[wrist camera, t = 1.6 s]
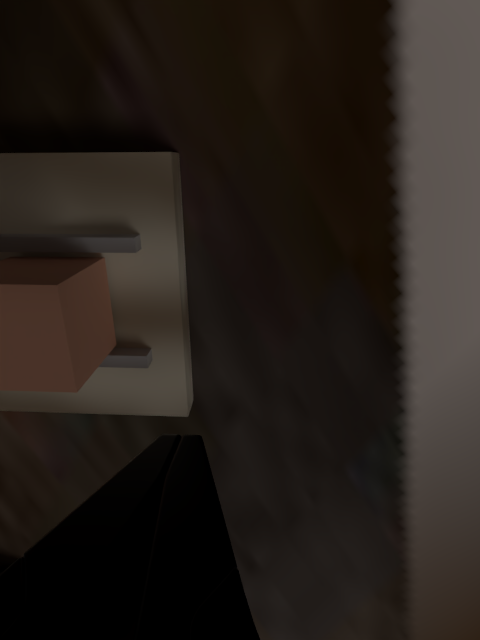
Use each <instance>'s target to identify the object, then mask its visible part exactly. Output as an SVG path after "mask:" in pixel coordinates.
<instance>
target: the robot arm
mask: <svg viewBox="0 0 480 640" xmlns="http://www.w3.org/2000/svg"><path fill="white" fill-rule="evenodd" d="M0 640H260V638H259V635H258V633H257V630H256V627H255V625H254V622H253V618H252V615H251V612H250V609H249V605H248V602H247V599H246V596H245V593H244V589H243V585H242V582H241V578H240V574H239V571H238V569H237V564H236V560H235V557H234V553H233V549H232V546H231V542H230V538H229V535H228V531H227V527H226V523H225V520H224V516H223V512H222V509H221V505H220V501H219V498H218V494H217V490H216V487H215V483H214V479H213V476H212V472H211V468H210V465H209V461H208V457H207V453H206V450H205V446H204V442H203V439H202V437H201V436H200V435H183V436H182V437H181V436H180V435H179V434H162V435H160V436H159V437H158V438H157V439H155V440H154V441H153V442H152V443H151V444H150V445H148V446H147V447H146V448H145V449H144V450H143V451H142V452H140V453H139V454H138V455H137V456H136V457H135V458H133V459H132V460H131V461H130V462H129V463H128V464H127V465H125V466H124V467H123V468H122V469H121V470H120V471H119V472H117V473H116V474H115V475H114V476H113V477H112V478H110V479H109V480H108V481H107V482H106V483H105V484H104V485H102V486H101V487H100V488H99V489H98V490H97V491H95V492H94V493H93V494H92V495H91V496H90V497H89V498H87V499H86V500H85V501H84V502H83V503H82V504H80V505H79V506H78V507H77V508H76V509H75V510H74V511H72V512H71V513H70V514H69V515H68V516H67V517H65V518H64V519H63V520H62V521H61V522H60V523H59V524H57V525H56V526H55V527H54V528H53V529H52V530H51V531H49V532H48V533H47V534H46V535H45V536H44V537H42V538H41V539H40V540H39V541H38V542H37V543H36V544H34V545H33V546H32V547H31V548H30V549H29V550H27V551H26V552H25V553H24V558H23V557H19V558H18V559H17V560H16V561H15V562H13V563H12V564H11V565H10V566H9V567H8V568H6V569H0Z"/></svg>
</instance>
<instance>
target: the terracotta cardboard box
mask: <svg viewBox="0 0 480 640" xmlns="http://www.w3.org/2000/svg"><path fill="white" fill-rule="evenodd" d="M116 345H117V344H116V337H115V330H114V322H113V315H112V308H111V300H110V293H109V285H108V278H107V271H106V263H105V257H9V258H6V259H3V260H1V261H0V390H2V391H37V392H72V393H77V392H78V391H79V390H80V388H81V387H82V386H83V385H84V384H85V382H86V381H87V380H88V379H89V378H90V376H91V375H92V374H93V373H94V371H95V370H96V369H97V368H98V367H99V365H100V364H101V363H102V362H103V360H104V359H105V358H106V357H107V356H108V354H109V353H110V352H111V351H112V350H113V348H114V347H115V346H116Z"/></svg>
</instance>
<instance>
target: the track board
mask: <svg viewBox="0 0 480 640" xmlns="http://www.w3.org/2000/svg"><path fill="white" fill-rule="evenodd" d="M9 257H105V263H106V271H107V278H108V285H109V293H110V300H111V308H112V315H113V322H114V330H115V337H116V344H117V345H116V346H115V347H114V348H113V350H112V351H111V352H110V353H109V354H108V356H107V357H106V358H105V359H104V360H103V362H102V363H101V364H100V365H99V367H98V368H97V369H96V370H95V371H94V373H93V374H92V375H91V376H90V378H89V379H88V380H87V381H86V382H85V384H84V385H83V386H82V387H81V388H80V390H79V391H78V392H77V393H72V392H37V391H2V390H0V411H26V412H57V413H89V414H120V415H152V416H184V417H188V416H189V412H190V409H191V406H192V402H193V385H192V367H191V350H190V333H189V316H188V298H187V281H186V264H185V247H184V229H183V212H182V195H181V178H180V161H179V153H175V152H96V153H0V261H1V260H3V259H6V258H9Z"/></svg>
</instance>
